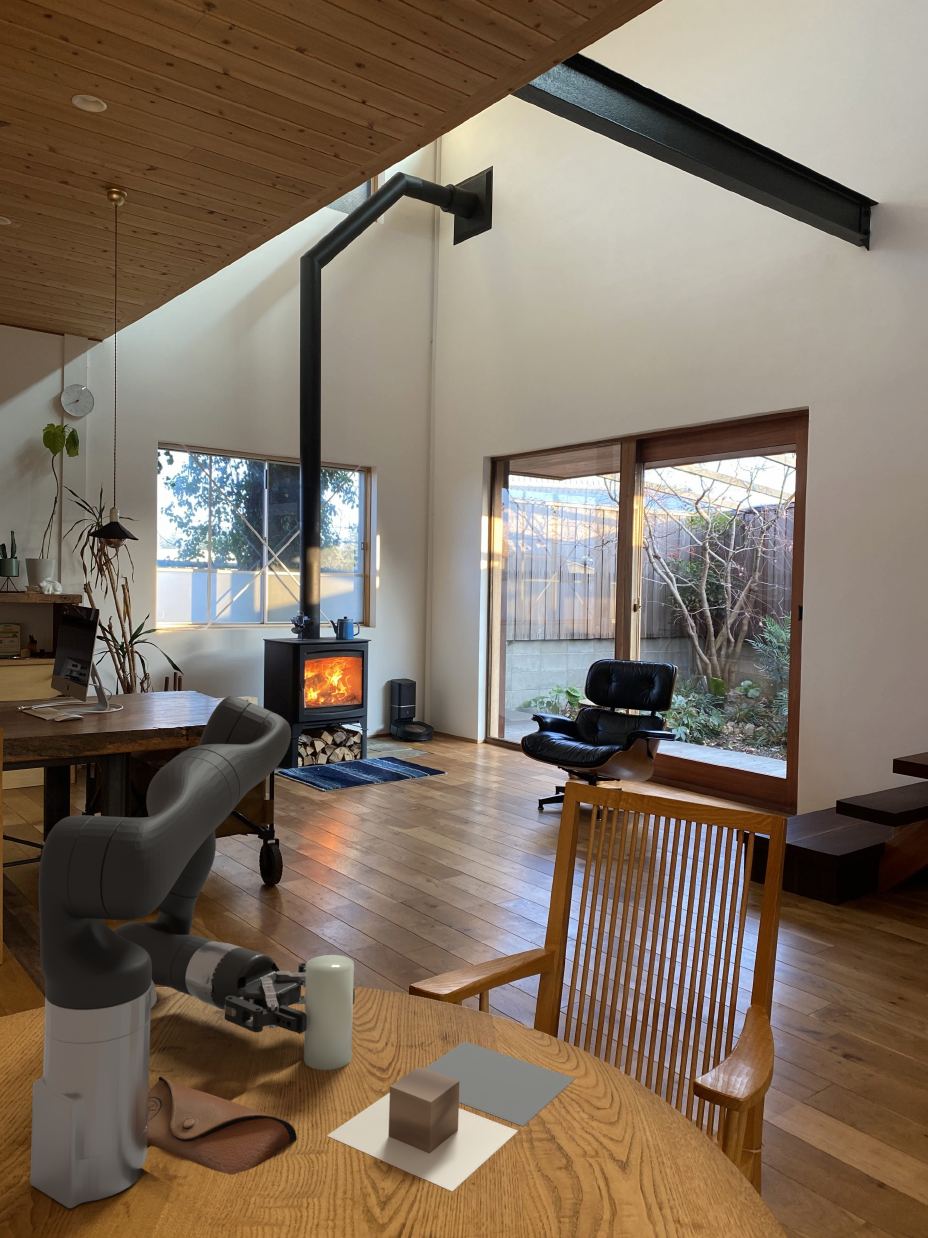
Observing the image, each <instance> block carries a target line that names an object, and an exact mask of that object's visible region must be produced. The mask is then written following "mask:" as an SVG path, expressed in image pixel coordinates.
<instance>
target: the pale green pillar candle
mask: <svg viewBox="0 0 928 1238" xmlns="http://www.w3.org/2000/svg"><path fill="white" fill-rule="evenodd" d="M305 963H306V988H305V990H304V992H305V1004H304V1013H305V1014H306V1015H307V1029H306V1031H305V1032H303V1034H304V1037H303V1042H304V1043H303V1044H304V1045H303V1062H304V1064H305V1065H306V1066H308V1067H309V1068H312V1069H314V1070H315V1069H316V1070H319V1071H329V1070H330V1071H331V1070H337V1069H341V1068H343V1067H345V1066H347V1065H348V1064H350V1062H351V1061H352V1058H353V1057H352V1055H353V1054H352V1053H353V1050H352V1049H353V1048H352V1047H353V1016H354V1015H353V1013H354V1012H353V1011H354V1010H353V1009H354V1008H353V1007H354V1005H353V989H354V975H355V972H354V970H355V969H354V968H355V962H354V961H353V959H351V958H349V957H347V956H346V955H345V956H344V955H339V954H327V955H319V956H315V957H312V958H311V959H309V960H308V961H306V962H305Z"/></svg>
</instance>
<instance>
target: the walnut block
mask: <svg viewBox="0 0 928 1238" xmlns="http://www.w3.org/2000/svg"><path fill="white" fill-rule="evenodd" d="M425 1068H426V1067H422V1066H419V1065H418V1066H417V1067H416V1068H415V1069H414V1070H413V1069H412V1071H411V1072H409V1073H407V1074H406V1075H404V1076H403V1077H402V1078H400V1079H399V1080H397V1081H396V1082H394V1083H393V1084H391V1085H389V1093H390V1102H389V1135H388V1136H389V1137H391V1138H394V1139H396V1140H398V1141H401V1142H403V1143H406V1144H408V1145H410V1146H413V1147H415V1148H417V1149H420V1150H422V1151H424V1152H427V1153H429V1154H430V1153H431V1152H432V1151H433V1150H435V1149H436V1148H437V1147H438V1146H439V1145H441V1144H442V1143H443V1142H444V1141H445V1140H447V1139H448V1138H449V1137H450V1136H451V1135H453V1134H454V1133H455V1132H456V1131H458V1115H459V1108H460V1107H459V1106H460V1104H459V1082H460V1081H458V1080H455V1079H453V1078H450V1077H447V1076H445V1075H442V1074H439V1073H436V1072H434V1071H431V1070H428V1069H425Z"/></svg>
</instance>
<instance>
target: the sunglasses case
mask: <svg viewBox="0 0 928 1238" xmlns="http://www.w3.org/2000/svg"><path fill="white" fill-rule="evenodd" d="M297 1136H298V1135H297V1132H296V1129H295V1128H294V1126H293V1124H291V1123H290V1122H289V1121H287V1120H285V1119H284V1118H281V1117H278V1116H274V1115H270V1114H269V1115H268V1114H264V1113H262V1112H260V1111H256V1110H254V1109H252V1108H249V1107H247V1106H244V1105H241V1104H239V1103H237V1102H234V1101H231V1100H228V1099H225V1098H221V1097H219V1096H217V1095H213V1094H210V1093H208V1092H204V1091H201V1090H198V1089H196V1088H191V1087H188V1086H185V1085H183V1084H178V1083H176V1082H174V1081H171V1080H169V1079H168V1078H166V1077H164V1076H159V1077H158V1081H156V1083H155V1084H154V1085H153V1086H152V1088H151V1089H150V1090H149V1091H148V1128H147V1149H148V1148H150V1147H153V1146H154V1147H157V1148H159V1149H162V1150H165V1151H167V1152H170V1153H172V1154H174V1155H177V1156H180V1157H182V1158H185V1159H187V1160H190V1161H192V1162H194V1163H197V1164H199V1165H201V1166H204V1167H206V1168H209V1169H211V1170H214V1171H216V1172H219V1173H222V1174H225V1175H229V1176H231V1175H235V1174H239V1173H242V1172H246V1171H249V1170H251V1169H253V1168H255V1167H258V1166H260V1165H262V1164H263V1163H265V1162H266V1161H268V1160H269V1159H270V1158H272V1157H273V1156H275V1155H276V1154H277V1153H278V1152H279V1151H281V1150H282V1149H284V1148H285V1147H288V1145H290V1144H291V1143H293V1142H294V1141H297V1140H298V1137H297Z"/></svg>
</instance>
